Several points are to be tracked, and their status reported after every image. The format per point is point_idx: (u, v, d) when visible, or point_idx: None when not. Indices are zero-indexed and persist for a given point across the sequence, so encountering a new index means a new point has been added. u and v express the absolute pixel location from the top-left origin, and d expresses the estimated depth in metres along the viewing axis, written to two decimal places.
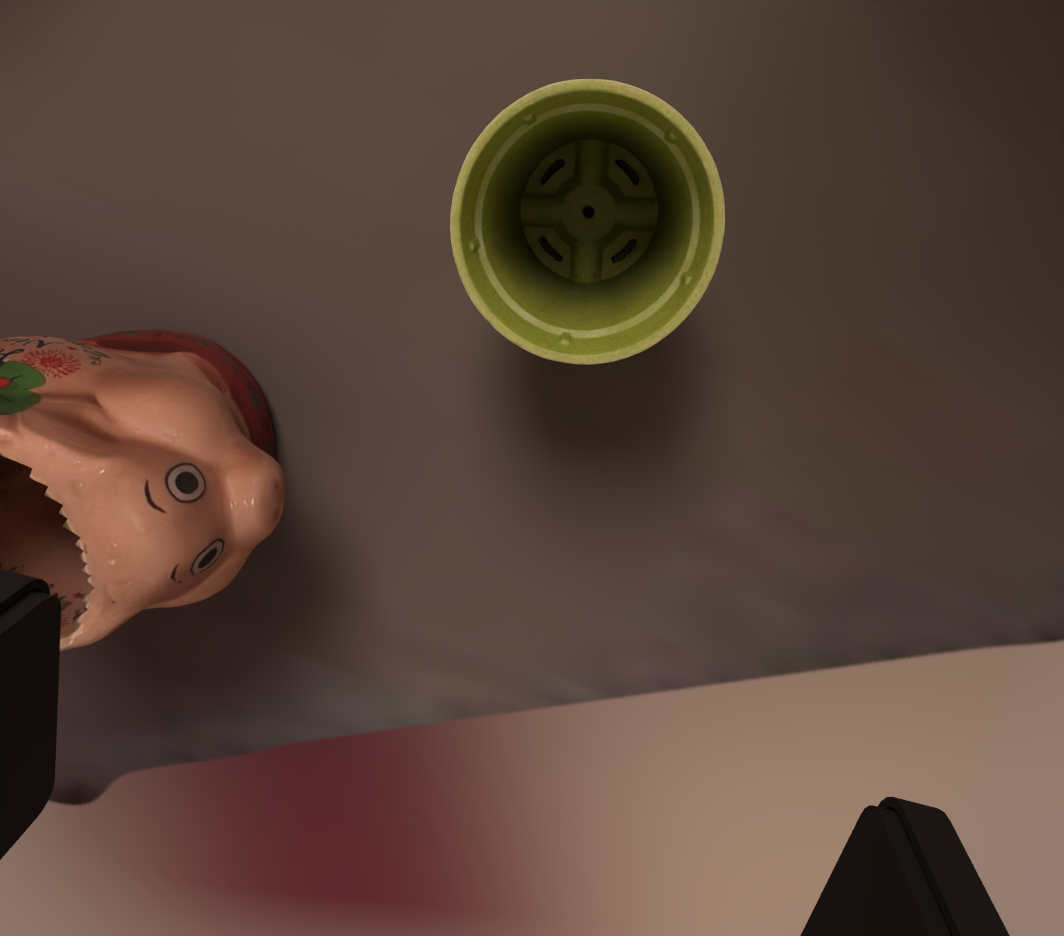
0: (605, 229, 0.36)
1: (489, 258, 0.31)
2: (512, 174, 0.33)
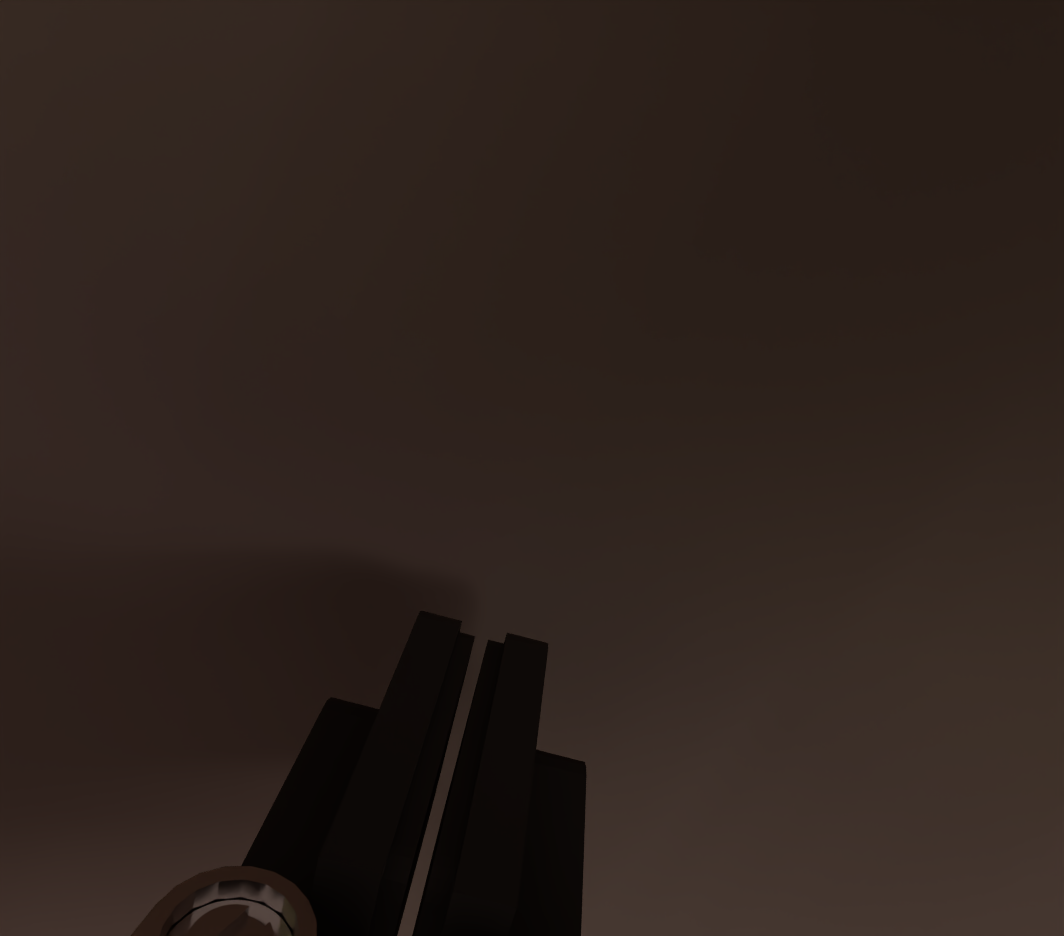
0: None
1: None
2: None
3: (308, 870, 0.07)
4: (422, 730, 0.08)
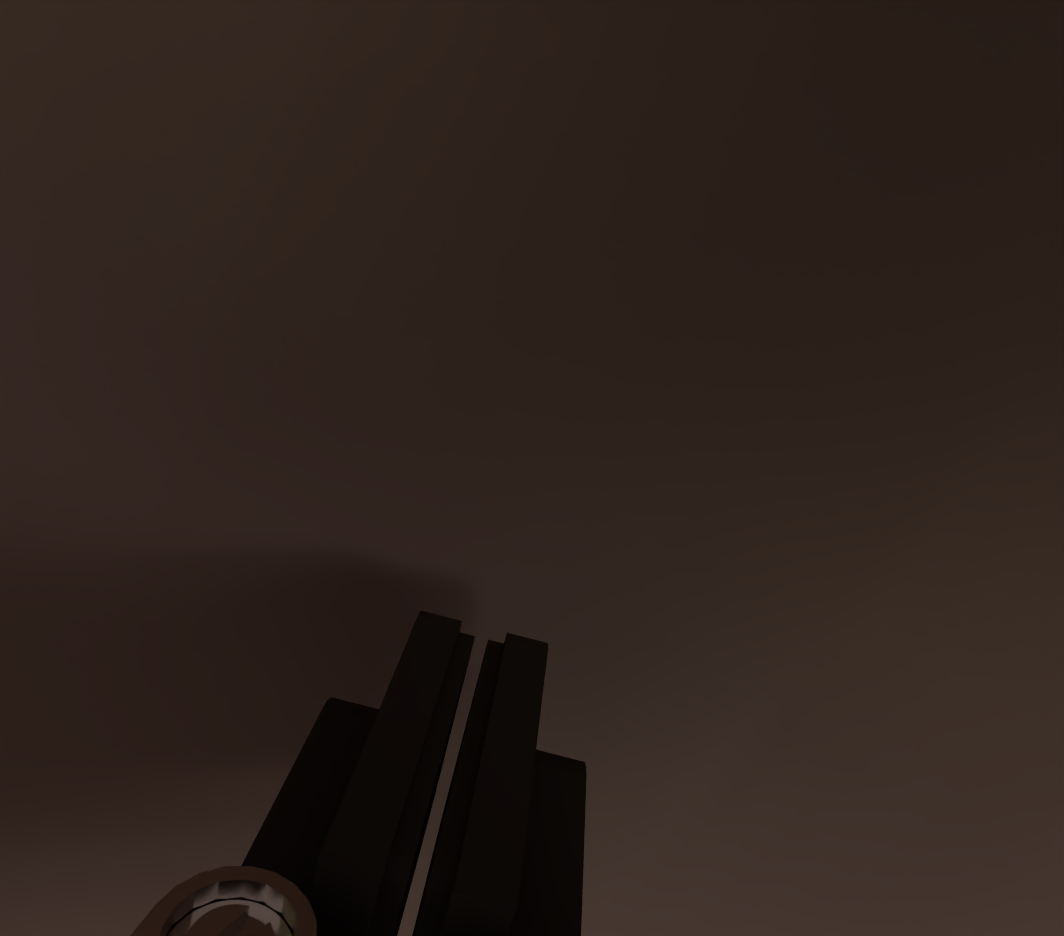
0: None
1: None
2: None
3: (308, 870, 0.07)
4: (422, 730, 0.08)
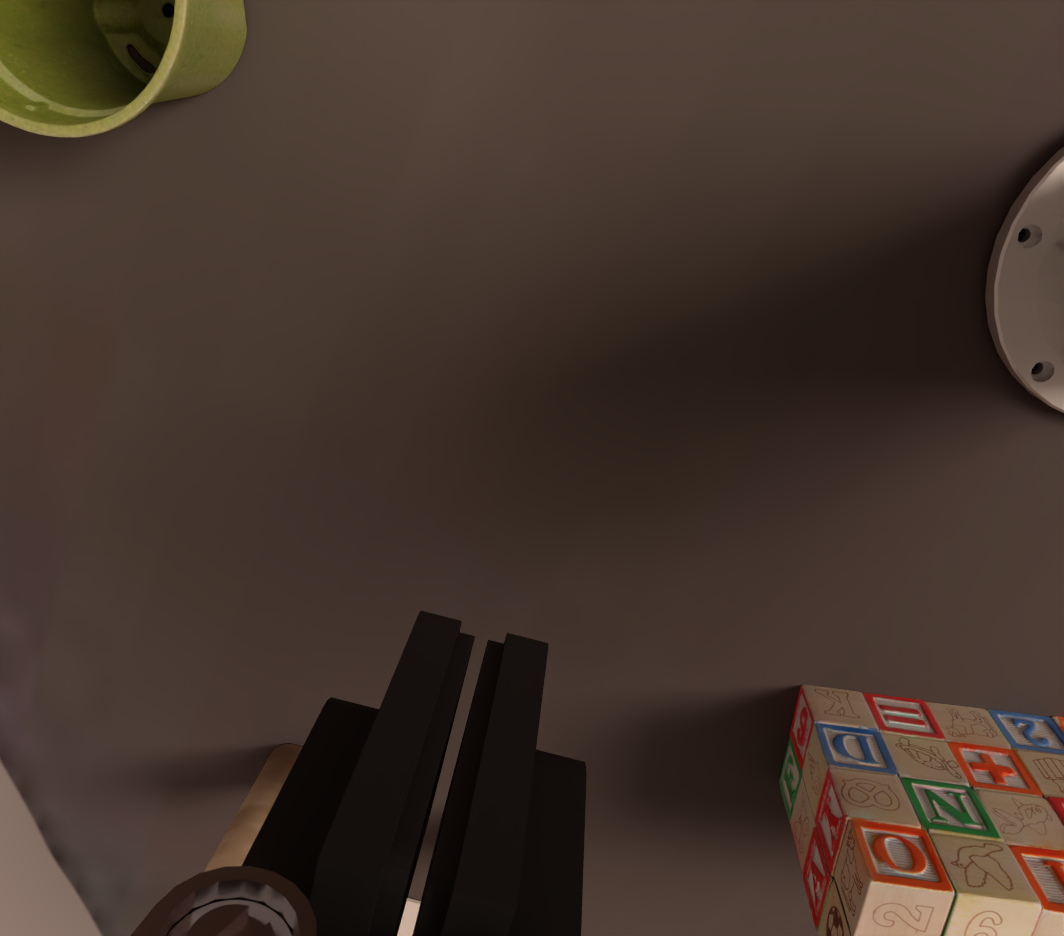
0: (156, 33, 0.33)
1: None
2: None
3: (308, 870, 0.07)
4: (422, 730, 0.08)
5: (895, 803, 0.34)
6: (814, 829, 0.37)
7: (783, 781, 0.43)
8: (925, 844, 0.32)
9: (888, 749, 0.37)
